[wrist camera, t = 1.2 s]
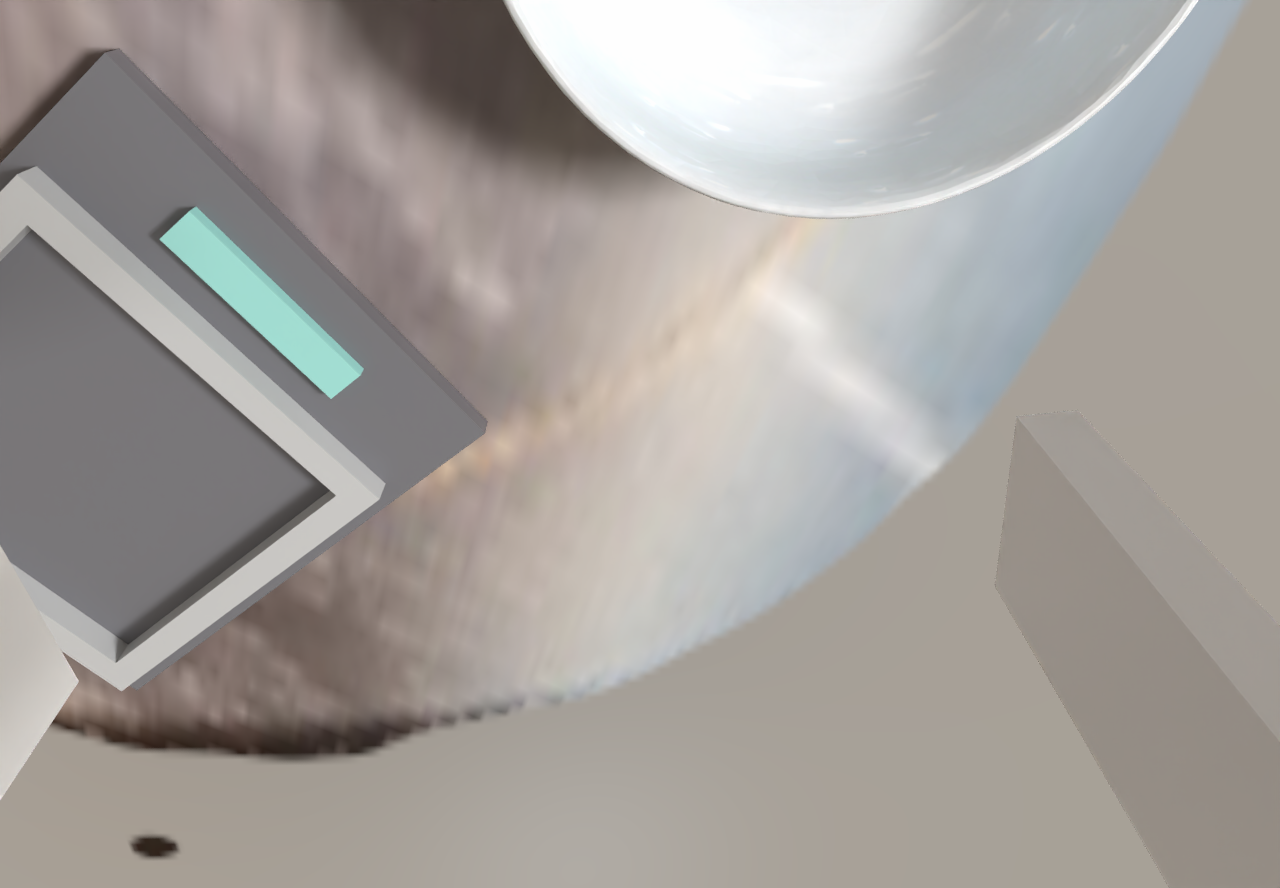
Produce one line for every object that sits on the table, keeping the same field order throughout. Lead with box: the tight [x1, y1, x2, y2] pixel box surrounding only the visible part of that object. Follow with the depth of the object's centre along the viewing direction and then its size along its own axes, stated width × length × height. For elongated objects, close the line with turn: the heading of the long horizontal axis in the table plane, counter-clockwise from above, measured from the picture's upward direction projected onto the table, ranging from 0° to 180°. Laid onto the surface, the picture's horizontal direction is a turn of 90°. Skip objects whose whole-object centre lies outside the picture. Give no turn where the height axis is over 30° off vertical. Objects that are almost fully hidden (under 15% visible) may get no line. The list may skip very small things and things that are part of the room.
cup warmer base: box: [0, 49, 488, 691], centre depth 36 cm, size 18×22×2 cm
